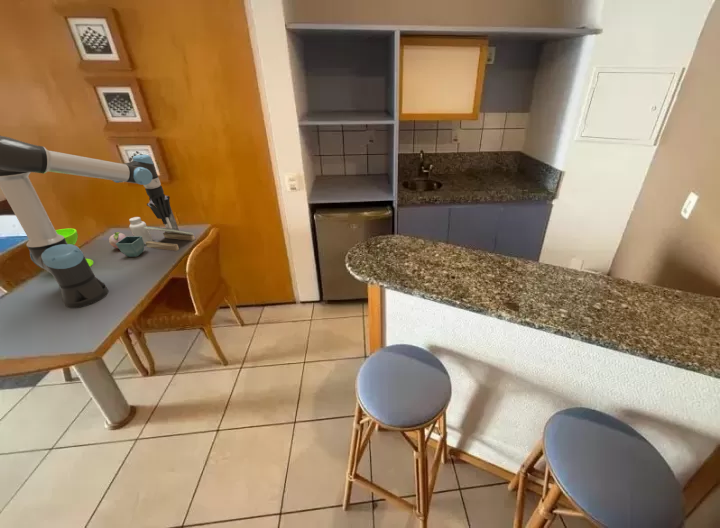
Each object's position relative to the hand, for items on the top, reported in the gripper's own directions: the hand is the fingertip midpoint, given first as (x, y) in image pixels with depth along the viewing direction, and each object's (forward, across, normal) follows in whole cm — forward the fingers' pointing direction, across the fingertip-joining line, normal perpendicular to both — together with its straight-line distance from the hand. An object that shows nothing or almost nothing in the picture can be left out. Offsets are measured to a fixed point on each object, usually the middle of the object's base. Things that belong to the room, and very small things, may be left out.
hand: (169, 228), depth 169 cm
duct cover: (+3, +3, +4) cm, 6 cm away
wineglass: (+10, -32, +33) cm, 47 cm away
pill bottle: (+10, -1, +20) cm, 23 cm away
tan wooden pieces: (+10, +4, +4) cm, 12 cm away
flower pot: (+10, -14, +13) cm, 22 cm away
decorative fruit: (+10, -10, +27) cm, 31 cm away
